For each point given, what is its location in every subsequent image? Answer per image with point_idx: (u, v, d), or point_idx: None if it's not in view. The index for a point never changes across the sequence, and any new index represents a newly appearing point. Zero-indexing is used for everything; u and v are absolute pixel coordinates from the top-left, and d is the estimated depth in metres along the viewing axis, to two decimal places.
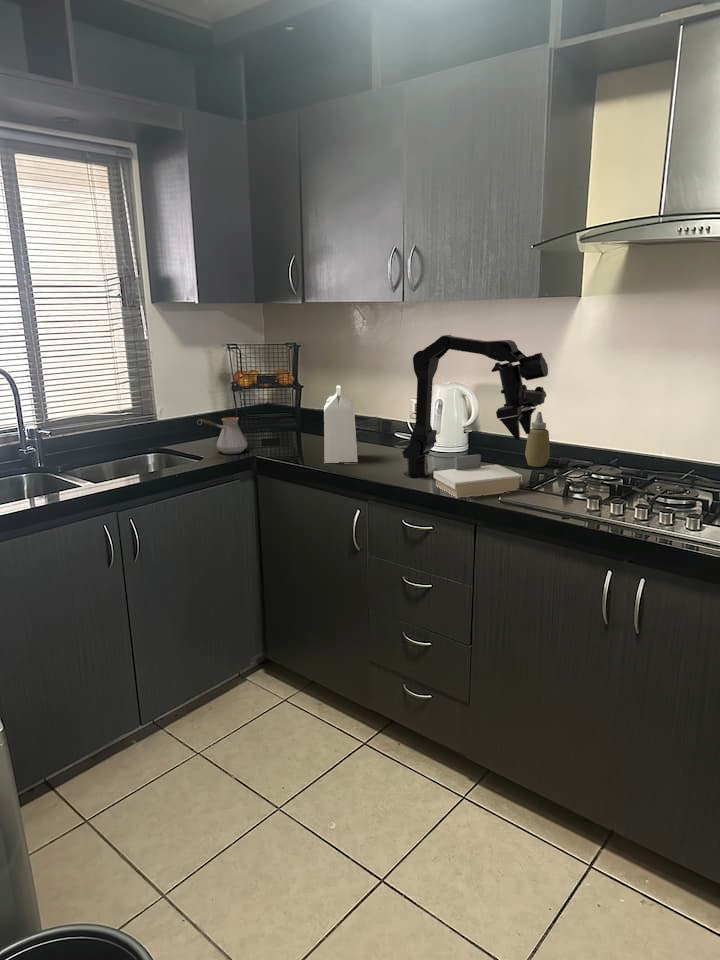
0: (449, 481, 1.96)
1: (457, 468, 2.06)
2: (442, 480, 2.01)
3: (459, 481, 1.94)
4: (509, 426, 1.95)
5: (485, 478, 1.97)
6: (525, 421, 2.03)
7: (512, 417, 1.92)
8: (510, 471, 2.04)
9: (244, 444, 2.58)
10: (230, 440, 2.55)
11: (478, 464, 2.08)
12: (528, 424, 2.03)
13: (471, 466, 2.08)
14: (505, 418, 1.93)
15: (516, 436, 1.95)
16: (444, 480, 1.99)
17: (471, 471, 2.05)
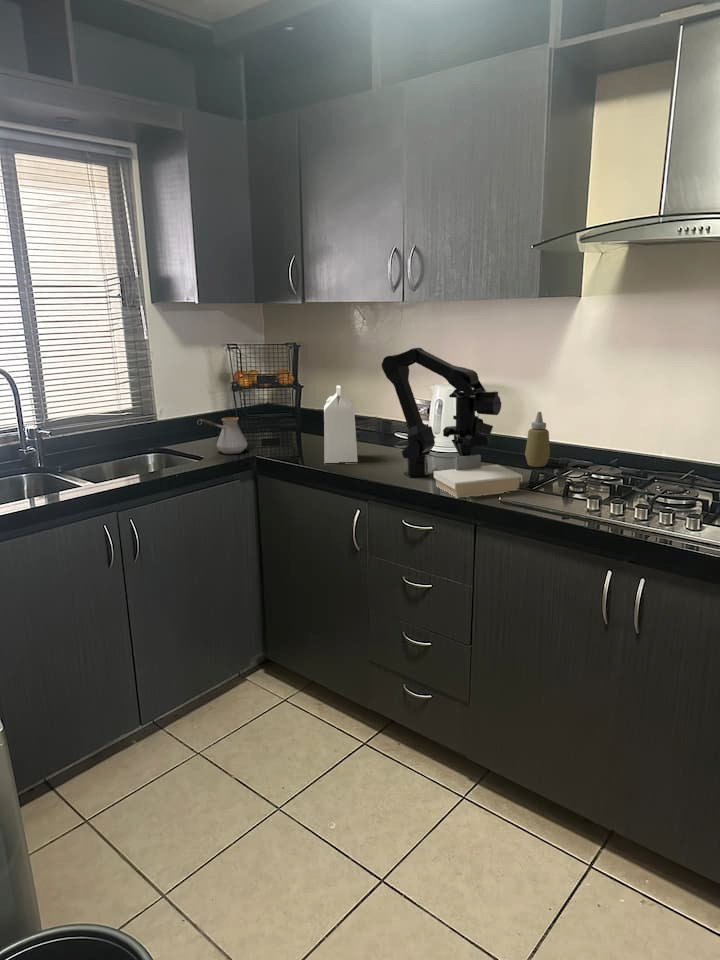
0: (449, 481, 1.96)
1: (457, 468, 2.06)
2: (442, 480, 2.01)
3: (459, 481, 1.94)
4: (464, 451, 2.07)
5: (485, 478, 1.97)
6: None
7: None
8: (510, 471, 2.04)
9: (244, 444, 2.58)
10: (230, 440, 2.55)
11: (478, 464, 2.08)
12: None
13: (471, 466, 2.08)
14: None
15: None
16: (444, 480, 1.99)
17: (471, 471, 2.05)
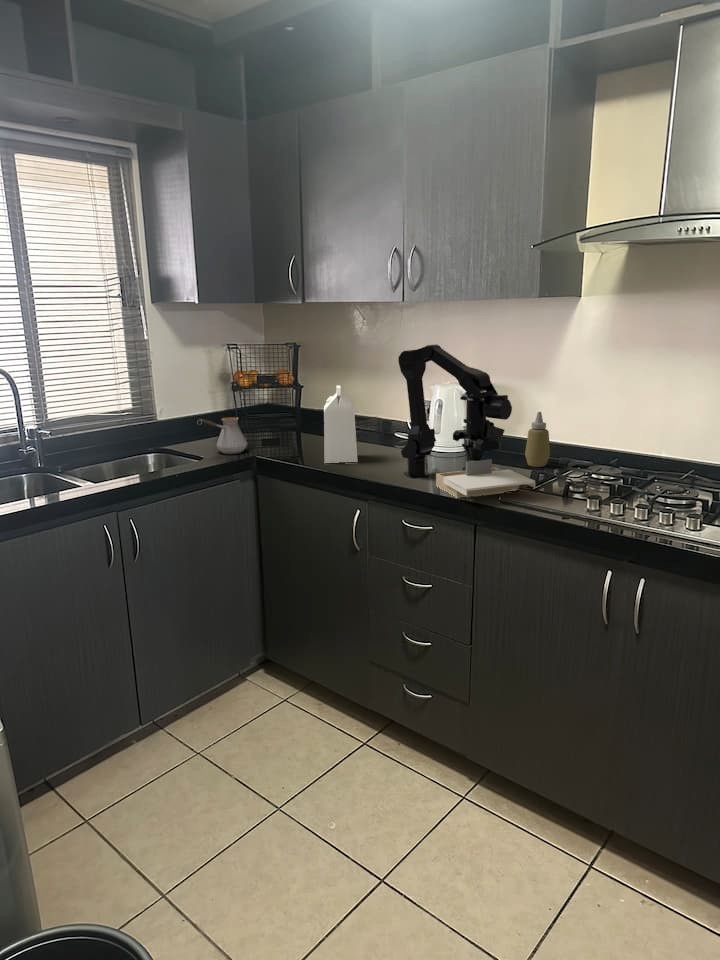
0: (460, 487, 1.90)
1: (468, 473, 2.00)
2: (452, 486, 1.94)
3: (470, 487, 1.88)
4: (474, 455, 2.01)
5: (497, 484, 1.90)
6: None
7: None
8: (522, 476, 1.97)
9: (244, 444, 2.58)
10: (230, 440, 2.55)
11: (489, 469, 2.02)
12: None
13: (482, 471, 2.02)
14: None
15: None
16: (454, 486, 1.93)
17: (482, 476, 1.98)
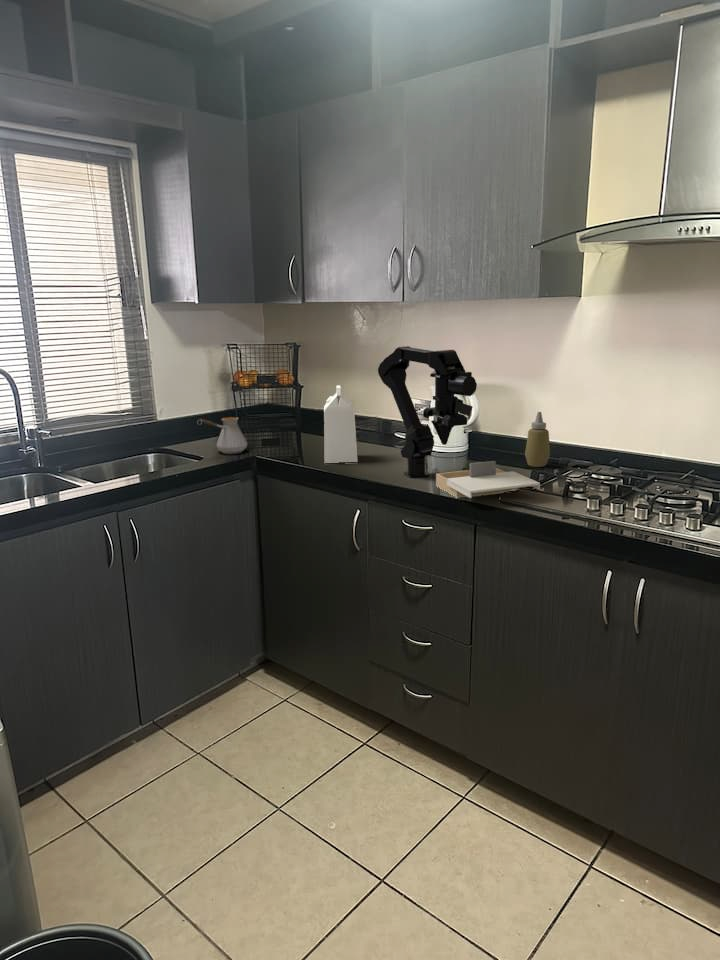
0: (464, 489, 1.88)
1: (471, 475, 1.98)
2: (456, 488, 1.92)
3: (474, 489, 1.86)
4: (443, 431, 2.05)
5: (501, 486, 1.88)
6: None
7: None
8: (527, 478, 1.95)
9: (244, 444, 2.58)
10: (230, 440, 2.55)
11: (493, 471, 2.00)
12: None
13: (486, 473, 1.99)
14: None
15: (445, 441, 2.07)
16: (458, 488, 1.91)
17: (486, 478, 1.96)
